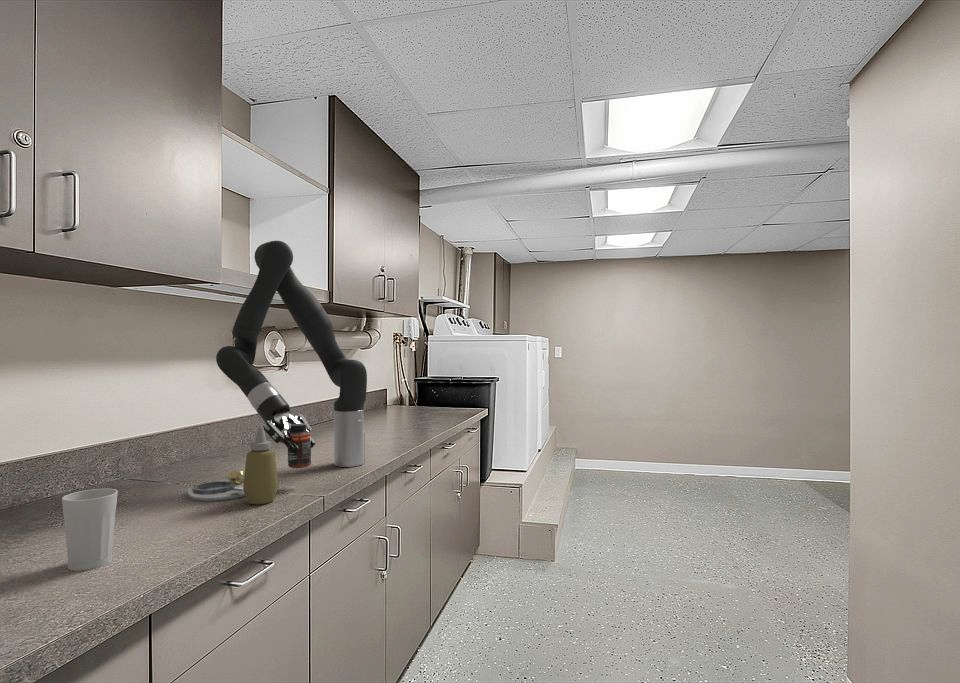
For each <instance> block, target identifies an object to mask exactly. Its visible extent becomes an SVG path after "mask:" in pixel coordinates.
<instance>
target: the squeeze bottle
mask: <svg viewBox="0 0 960 683" xmlns="http://www.w3.org/2000/svg"><path fill="white" fill-rule="evenodd" d="M271 448H272V441H271V440H267V437H266V432H265V431H264V428H263V426H258V427H257V432H256V436H255V440H254V441H252V442H250V451H248V452H246V456H245V457H246V458H245V467H244V484H243V490H244V493H245V496H244V497H245V498H246V501H247V503H248V504H250V505H265V504H269V503H271V502H273V501H274V500H275V498H276V497H275V496H276V494H277V492H278V489H279V479H278V470H277V461H276V452H275V451H274V450H273V449H271Z"/></svg>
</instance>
